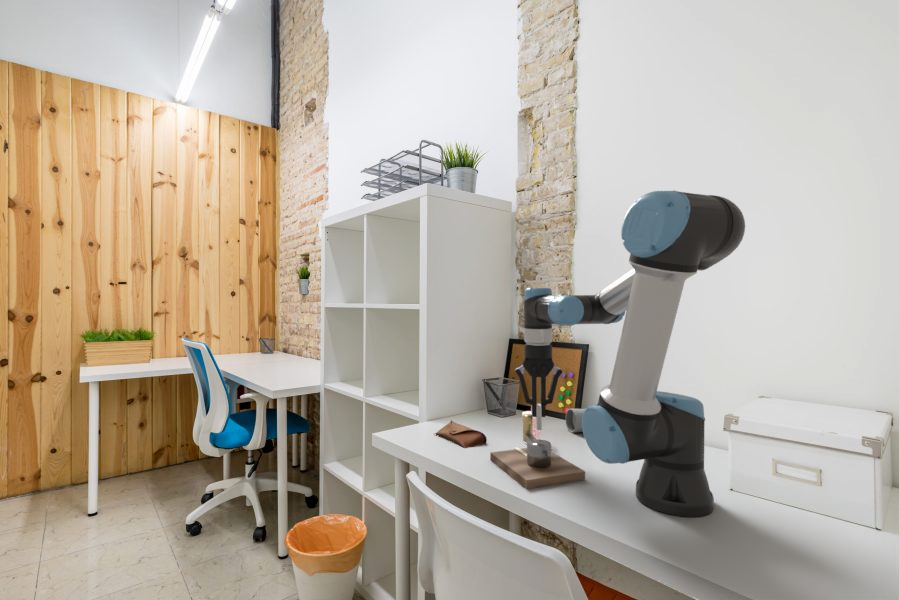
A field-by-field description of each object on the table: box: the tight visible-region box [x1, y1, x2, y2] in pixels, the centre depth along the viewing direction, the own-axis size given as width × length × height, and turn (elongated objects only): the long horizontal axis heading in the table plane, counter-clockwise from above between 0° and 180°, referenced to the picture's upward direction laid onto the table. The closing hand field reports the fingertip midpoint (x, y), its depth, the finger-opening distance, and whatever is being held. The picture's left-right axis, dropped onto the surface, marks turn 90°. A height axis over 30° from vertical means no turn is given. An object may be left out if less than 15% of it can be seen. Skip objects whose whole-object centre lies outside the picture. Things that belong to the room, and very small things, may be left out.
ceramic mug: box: [564, 408, 586, 434], centre depth 151 cm, size 11×8×8 cm
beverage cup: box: [521, 396, 541, 445], centre depth 137 cm, size 6×6×14 cm
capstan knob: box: [522, 414, 552, 467], centre depth 119 cm, size 15×6×9 cm, turn 5°
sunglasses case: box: [434, 420, 487, 449], centre depth 142 cm, size 18×7×7 cm
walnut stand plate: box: [489, 446, 586, 490], centre depth 116 cm, size 20×16×2 cm
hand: (538, 428), depth 125 cm, fingers closed
